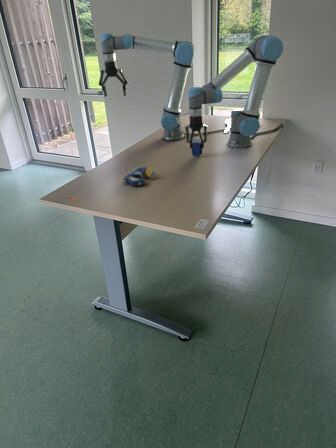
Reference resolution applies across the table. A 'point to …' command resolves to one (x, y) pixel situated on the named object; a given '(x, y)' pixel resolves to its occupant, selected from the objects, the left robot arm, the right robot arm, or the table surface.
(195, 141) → the block
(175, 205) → the table surface
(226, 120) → the spoon
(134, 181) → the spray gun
